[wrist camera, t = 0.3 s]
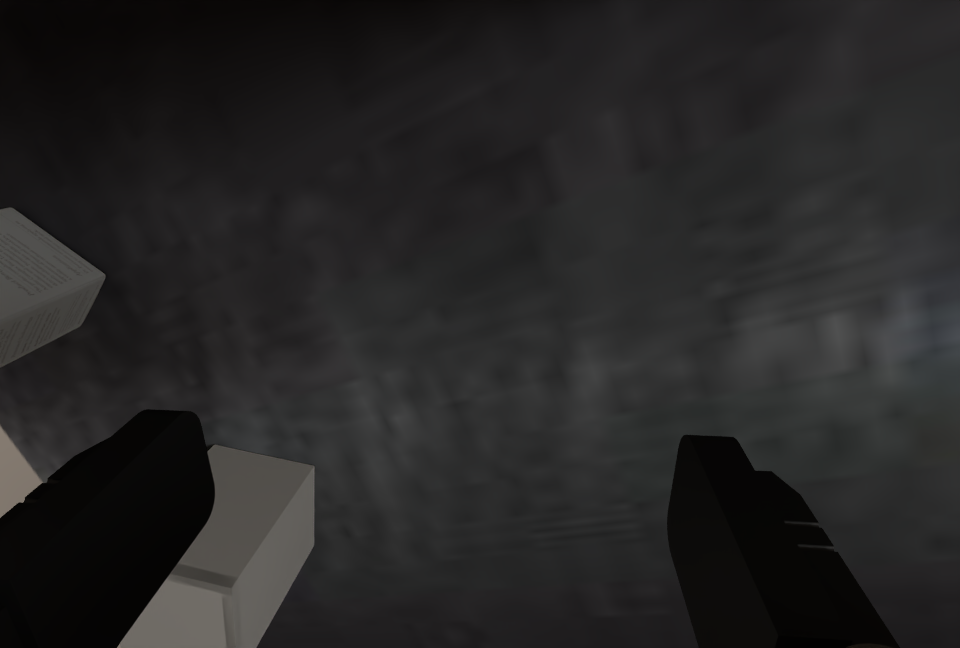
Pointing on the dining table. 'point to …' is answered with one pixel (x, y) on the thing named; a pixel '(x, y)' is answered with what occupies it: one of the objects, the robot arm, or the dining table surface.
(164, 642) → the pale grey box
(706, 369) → the dining table surface
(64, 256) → the skincare box
